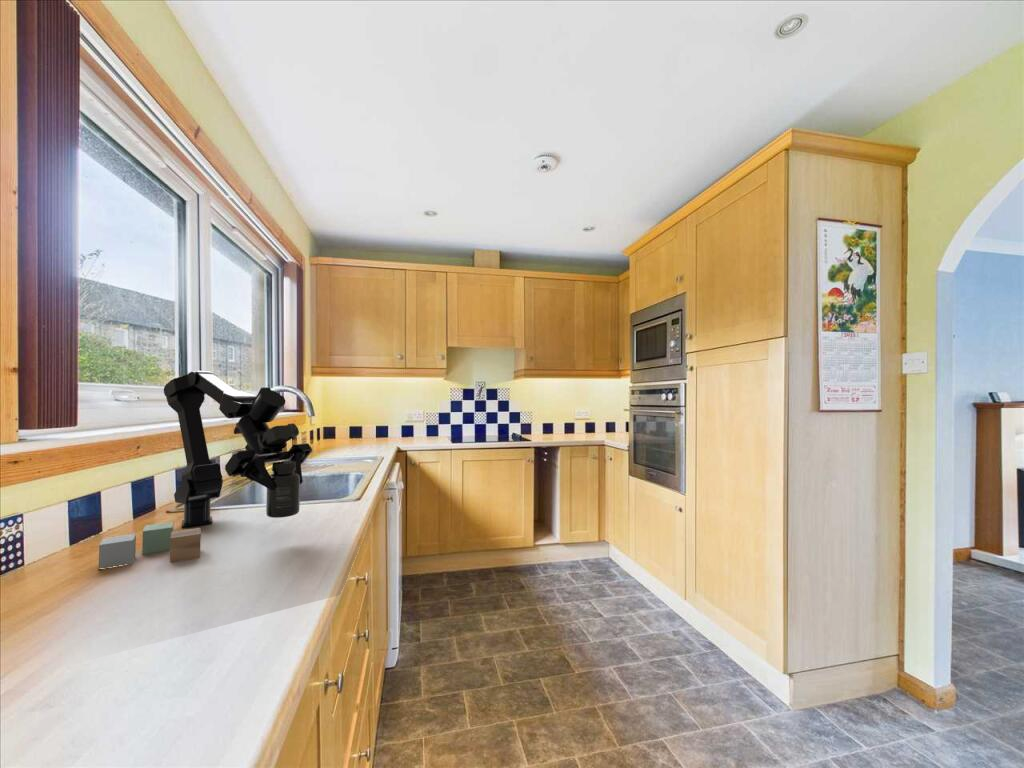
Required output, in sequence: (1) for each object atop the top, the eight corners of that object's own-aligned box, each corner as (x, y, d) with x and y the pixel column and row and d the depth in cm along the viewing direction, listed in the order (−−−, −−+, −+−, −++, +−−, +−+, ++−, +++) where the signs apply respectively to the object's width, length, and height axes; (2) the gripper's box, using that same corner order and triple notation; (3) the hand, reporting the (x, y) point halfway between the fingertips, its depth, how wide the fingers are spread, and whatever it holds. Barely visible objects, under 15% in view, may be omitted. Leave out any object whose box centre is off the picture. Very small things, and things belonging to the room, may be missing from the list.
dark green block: (144, 548, 96) (145, 525, 96) (173, 543, 99) (173, 521, 99) (142, 554, 92) (142, 531, 92) (171, 550, 95) (172, 527, 95)
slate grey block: (102, 562, 88) (103, 538, 88) (135, 557, 91) (135, 533, 91) (98, 570, 84) (99, 545, 84) (132, 564, 87) (133, 539, 87)
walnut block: (171, 555, 92) (171, 531, 92) (200, 550, 95) (200, 527, 95) (169, 563, 88) (170, 538, 88) (200, 557, 91) (200, 533, 91)
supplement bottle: (305, 511, 103) (306, 460, 103) (287, 519, 96) (289, 465, 96) (278, 509, 103) (279, 459, 104) (258, 517, 96) (260, 464, 97)
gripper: (234, 414, 93) (266, 469, 88) (308, 411, 110) (338, 458, 105) (211, 448, 97) (241, 503, 92) (286, 440, 113) (315, 486, 108)
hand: (287, 486), depth 99 cm, fingers closed on supplement bottle, 7 cm apart
